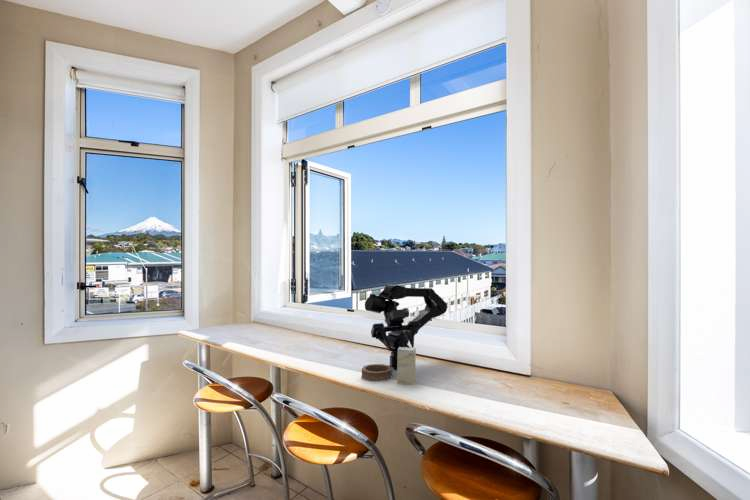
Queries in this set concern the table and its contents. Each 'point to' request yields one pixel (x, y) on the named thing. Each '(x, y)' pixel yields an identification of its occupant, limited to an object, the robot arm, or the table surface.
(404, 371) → the skincare box
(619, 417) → the table surface
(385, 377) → the walnut ring
